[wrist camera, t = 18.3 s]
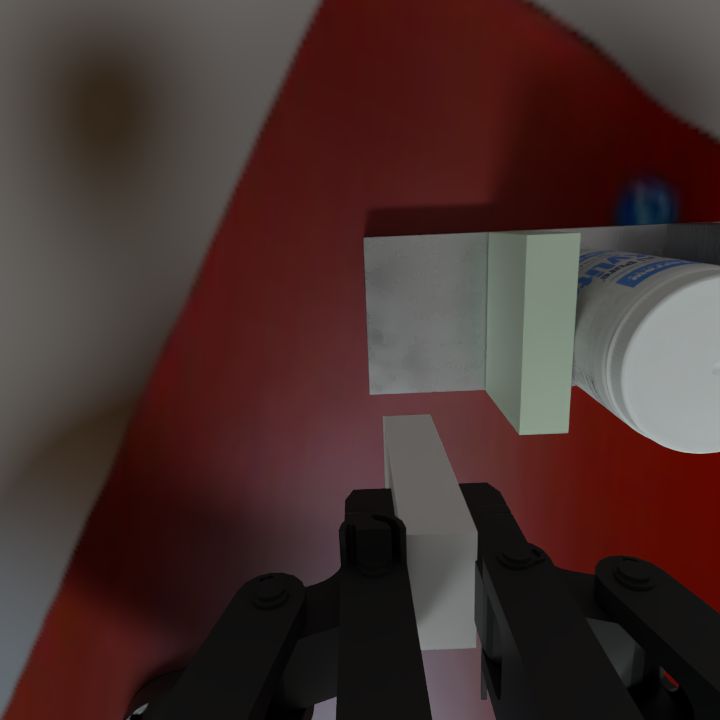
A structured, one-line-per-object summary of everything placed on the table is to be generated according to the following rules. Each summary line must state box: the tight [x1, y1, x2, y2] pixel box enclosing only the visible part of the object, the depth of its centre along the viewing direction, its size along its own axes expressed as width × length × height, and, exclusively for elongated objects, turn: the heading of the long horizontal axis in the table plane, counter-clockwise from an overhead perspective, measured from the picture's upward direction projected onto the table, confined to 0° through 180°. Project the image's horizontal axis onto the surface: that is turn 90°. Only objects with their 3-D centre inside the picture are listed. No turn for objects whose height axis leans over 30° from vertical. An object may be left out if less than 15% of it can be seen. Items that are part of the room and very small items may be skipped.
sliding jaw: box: [486, 230, 581, 435], centre depth 35 cm, size 3×12×9 cm, turn 2°
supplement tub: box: [571, 250, 720, 454], centre depth 32 cm, size 10×10×15 cm
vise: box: [363, 222, 720, 395], centre depth 36 cm, size 26×12×11 cm, turn 92°
